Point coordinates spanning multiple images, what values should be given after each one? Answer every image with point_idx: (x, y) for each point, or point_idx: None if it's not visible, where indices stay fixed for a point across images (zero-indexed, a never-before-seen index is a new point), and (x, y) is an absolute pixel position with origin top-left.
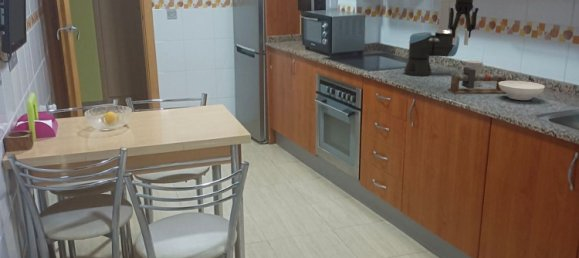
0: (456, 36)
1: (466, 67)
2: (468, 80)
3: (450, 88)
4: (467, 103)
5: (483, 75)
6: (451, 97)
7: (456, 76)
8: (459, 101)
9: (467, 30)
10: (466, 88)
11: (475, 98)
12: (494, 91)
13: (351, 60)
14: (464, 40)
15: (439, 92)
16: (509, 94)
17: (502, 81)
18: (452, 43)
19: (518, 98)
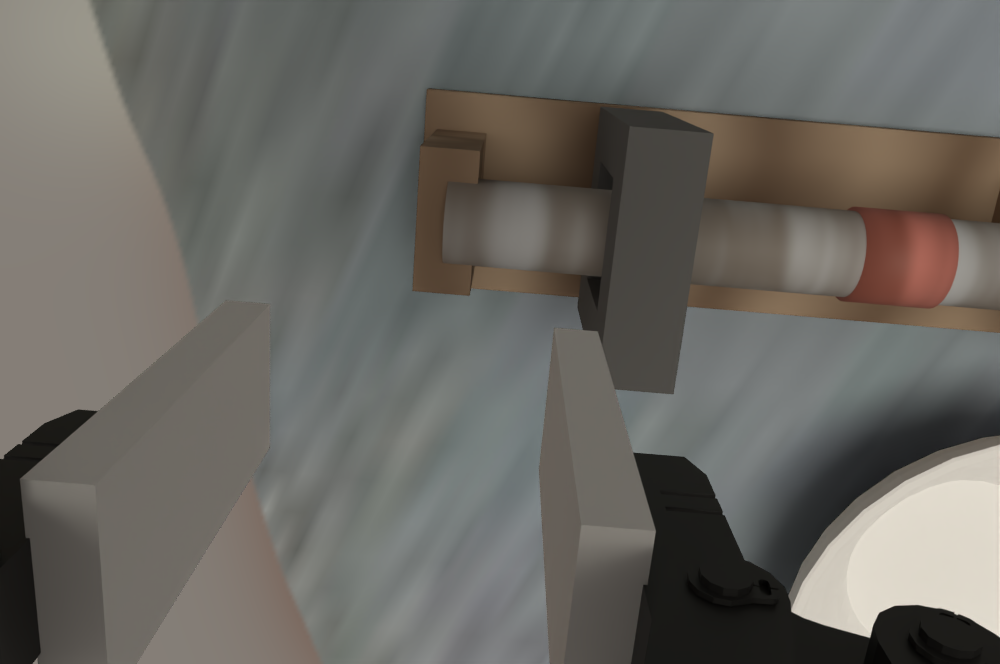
0: (176, 573)
1: (655, 164)
2: (588, 303)
3: (436, 130)
4: (359, 654)
5: (837, 283)
6: (316, 428)
7: (443, 250)
8: (321, 583)
9: (641, 618)
10: (657, 110)
11: (535, 491)
12: (884, 309)
13: None
14: (558, 386)
15: (284, 183)
16: (833, 616)
17: (941, 476)
18: (217, 312)
19: None
